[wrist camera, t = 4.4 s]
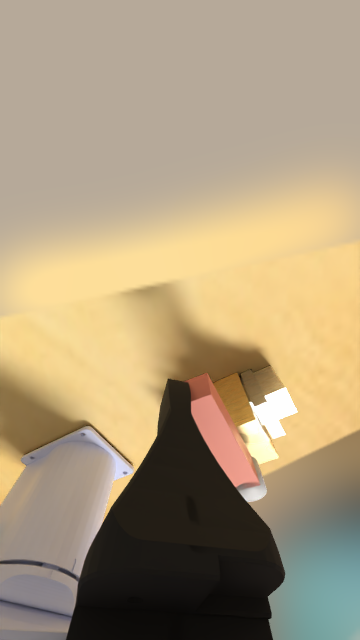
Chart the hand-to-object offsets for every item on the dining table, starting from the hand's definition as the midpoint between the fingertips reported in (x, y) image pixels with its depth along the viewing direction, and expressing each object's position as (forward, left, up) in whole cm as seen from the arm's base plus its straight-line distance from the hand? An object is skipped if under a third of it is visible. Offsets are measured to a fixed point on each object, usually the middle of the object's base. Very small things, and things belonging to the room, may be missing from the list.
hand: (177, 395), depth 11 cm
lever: (+1, -4, 0) cm, 4 cm away
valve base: (+1, -8, -6) cm, 10 cm away
